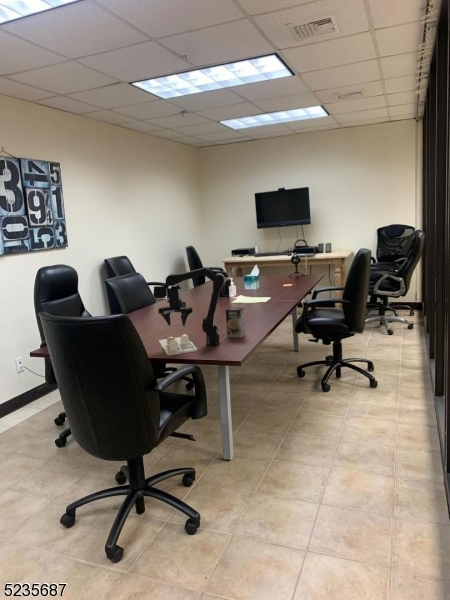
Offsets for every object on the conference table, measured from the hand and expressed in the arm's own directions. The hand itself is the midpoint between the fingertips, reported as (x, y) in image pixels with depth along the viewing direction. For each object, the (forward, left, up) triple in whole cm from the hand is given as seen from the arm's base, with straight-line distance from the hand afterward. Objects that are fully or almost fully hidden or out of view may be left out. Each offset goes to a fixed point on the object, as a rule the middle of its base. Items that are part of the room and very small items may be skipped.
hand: (176, 326), depth 242 cm
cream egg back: (-4, 0, -11) cm, 12 cm away
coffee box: (-19, -29, -12) cm, 37 cm away
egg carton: (+1, 0, -12) cm, 12 cm away
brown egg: (+1, +5, -11) cm, 12 cm away
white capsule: (-5, +10, -11) cm, 16 cm away
